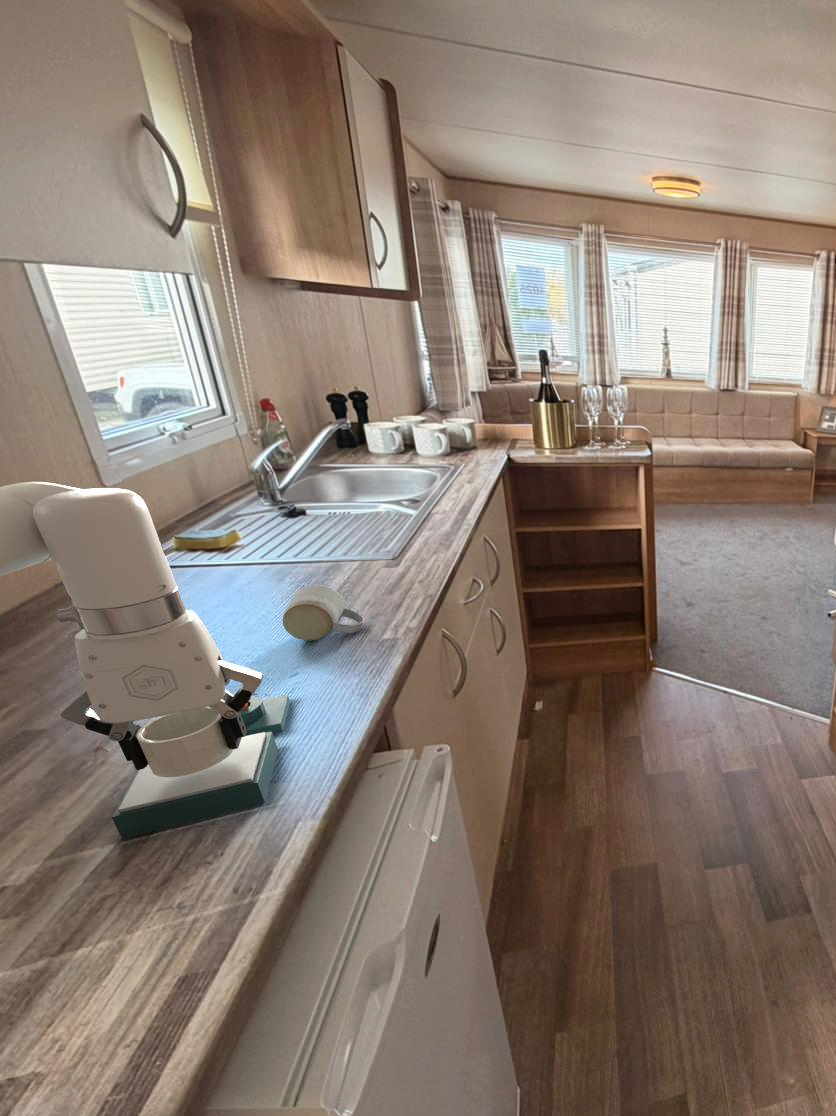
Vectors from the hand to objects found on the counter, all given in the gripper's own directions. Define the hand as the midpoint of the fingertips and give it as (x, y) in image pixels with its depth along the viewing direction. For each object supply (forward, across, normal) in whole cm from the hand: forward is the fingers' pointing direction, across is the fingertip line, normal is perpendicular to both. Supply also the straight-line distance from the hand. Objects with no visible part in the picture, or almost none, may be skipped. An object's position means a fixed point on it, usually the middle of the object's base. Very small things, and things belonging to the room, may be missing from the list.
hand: (192, 751), depth 72 cm
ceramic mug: (+6, +9, +42) cm, 43 cm away
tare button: (+3, +1, +14) cm, 14 cm away
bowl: (+1, 0, 0) cm, 1 cm away
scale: (+6, 0, 0) cm, 6 cm away
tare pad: (+6, +1, +14) cm, 15 cm away
